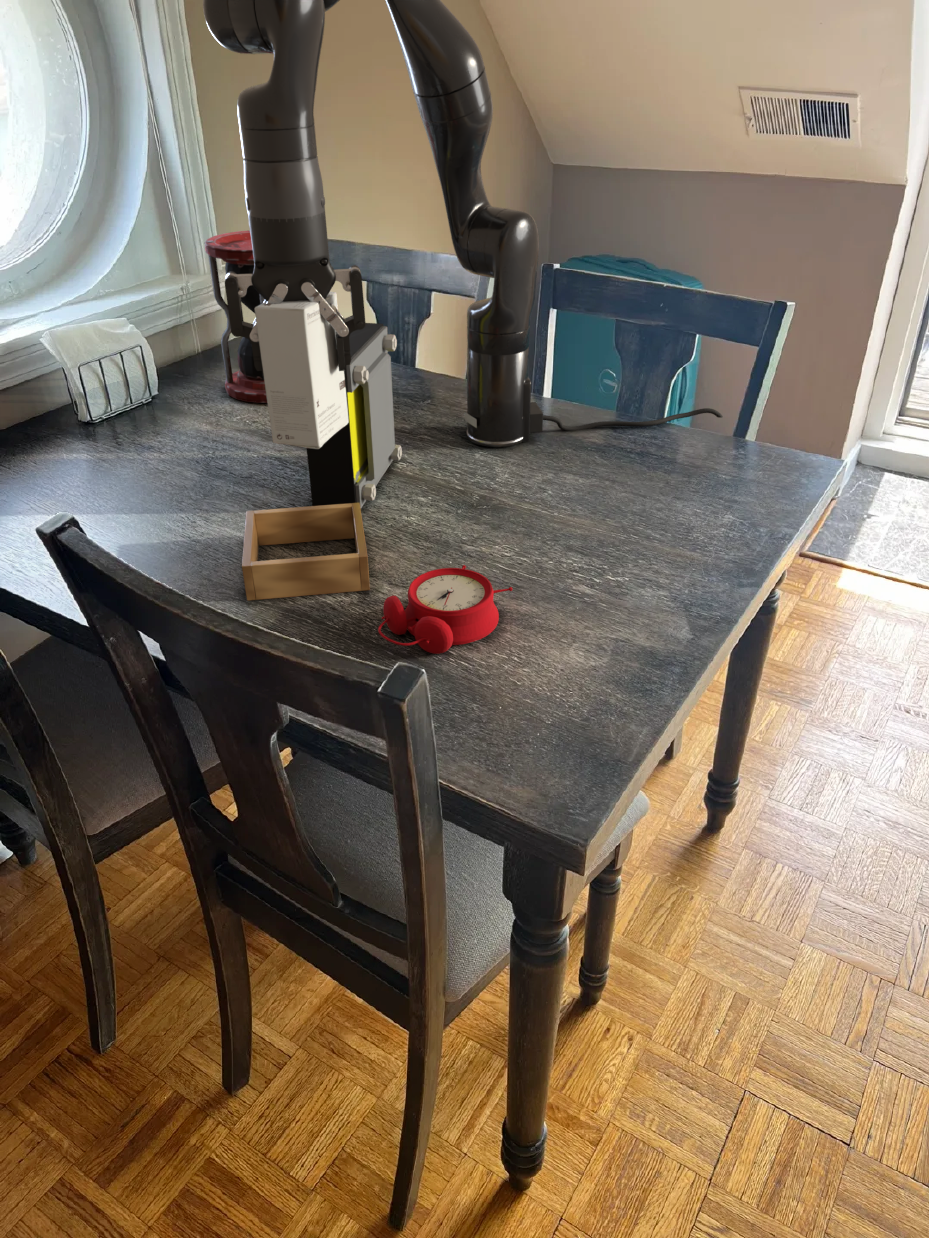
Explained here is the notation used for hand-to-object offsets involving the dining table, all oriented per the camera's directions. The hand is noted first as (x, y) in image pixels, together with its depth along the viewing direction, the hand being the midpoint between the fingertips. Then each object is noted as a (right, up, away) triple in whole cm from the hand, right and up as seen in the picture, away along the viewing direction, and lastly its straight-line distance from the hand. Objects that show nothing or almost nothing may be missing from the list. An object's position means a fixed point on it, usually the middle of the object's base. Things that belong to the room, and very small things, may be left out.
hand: (303, 371), depth 101 cm
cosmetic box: (0, -6, +4) cm, 7 cm away
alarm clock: (+15, -28, +1) cm, 31 cm away
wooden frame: (-2, -20, +13) cm, 24 cm away
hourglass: (-17, +14, +66) cm, 69 cm away
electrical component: (+2, -7, +33) cm, 33 cm away
